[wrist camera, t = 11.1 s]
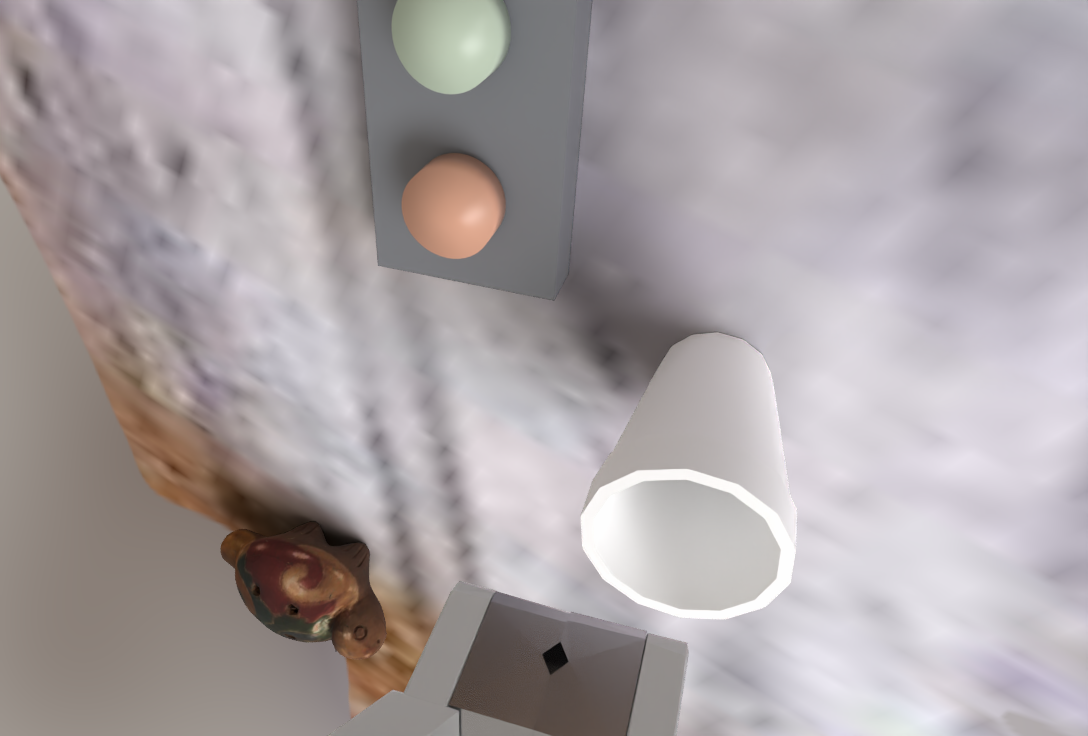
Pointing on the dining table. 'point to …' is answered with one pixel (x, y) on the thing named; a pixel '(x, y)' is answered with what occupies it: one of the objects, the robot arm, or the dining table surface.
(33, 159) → the dining table surface
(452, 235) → the orange rounded lump
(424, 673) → the robot arm
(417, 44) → the sage button
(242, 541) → the decorative turtle
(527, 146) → the console
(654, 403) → the foam cup
